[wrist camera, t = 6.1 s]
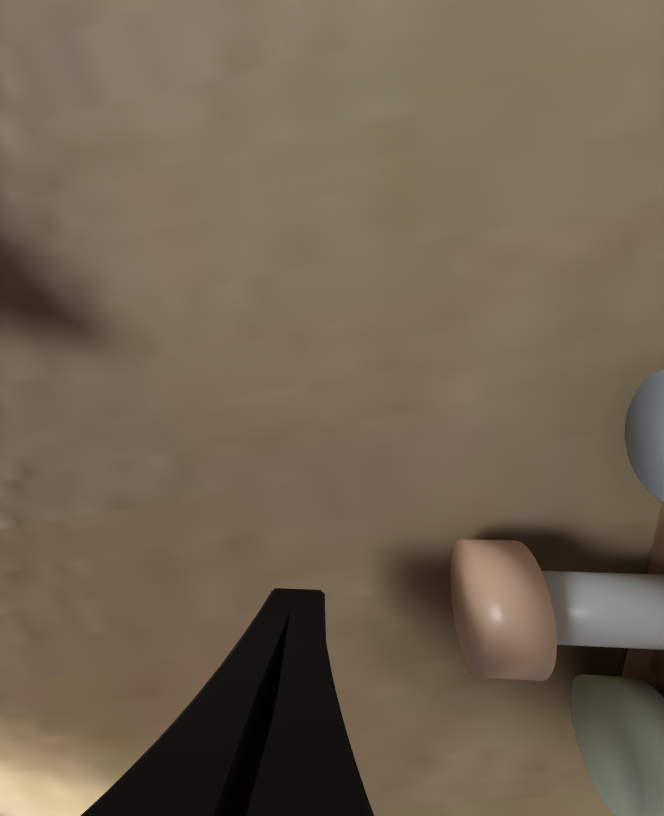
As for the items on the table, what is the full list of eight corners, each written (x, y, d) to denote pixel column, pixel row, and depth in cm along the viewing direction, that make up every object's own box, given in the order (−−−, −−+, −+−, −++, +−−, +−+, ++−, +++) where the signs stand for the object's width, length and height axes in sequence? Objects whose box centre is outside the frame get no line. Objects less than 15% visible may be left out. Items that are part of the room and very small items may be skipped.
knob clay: (447, 605, 12) (479, 711, 9) (454, 516, 11) (492, 599, 8) (660, 613, 12) (775, 730, 9) (684, 521, 11) (822, 612, 8)
